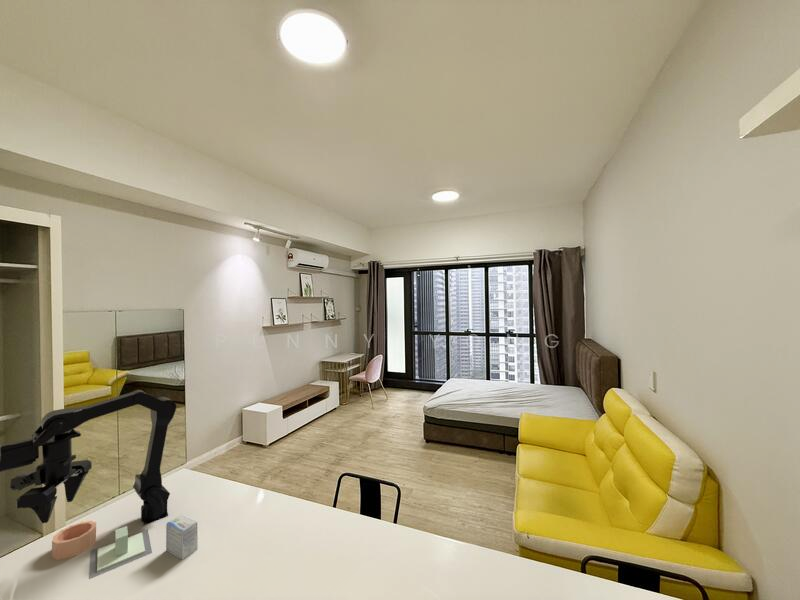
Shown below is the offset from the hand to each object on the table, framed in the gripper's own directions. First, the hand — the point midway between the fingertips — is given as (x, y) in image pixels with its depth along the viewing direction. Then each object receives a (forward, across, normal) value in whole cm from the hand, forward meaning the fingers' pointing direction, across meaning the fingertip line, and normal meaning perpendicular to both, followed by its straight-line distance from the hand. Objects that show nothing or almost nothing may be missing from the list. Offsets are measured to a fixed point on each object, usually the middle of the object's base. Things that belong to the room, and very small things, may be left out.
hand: (58, 511), depth 90 cm
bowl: (+13, -3, +2) cm, 14 cm away
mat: (+14, +2, +16) cm, 21 cm away
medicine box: (+14, +6, +32) cm, 36 cm away
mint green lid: (+13, +2, +16) cm, 21 cm away
